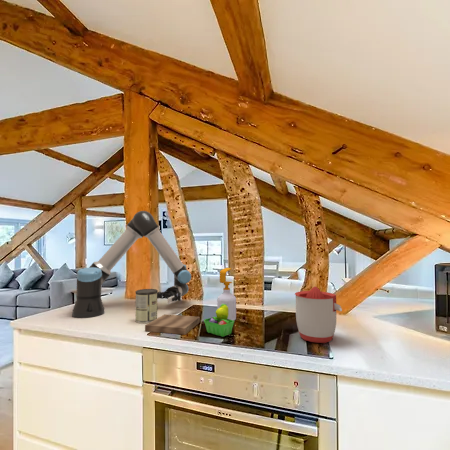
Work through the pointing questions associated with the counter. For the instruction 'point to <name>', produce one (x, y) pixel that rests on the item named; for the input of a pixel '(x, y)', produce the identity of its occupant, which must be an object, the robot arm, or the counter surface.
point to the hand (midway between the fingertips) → (156, 300)
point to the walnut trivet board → (172, 324)
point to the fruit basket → (220, 322)
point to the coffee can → (146, 305)
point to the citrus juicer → (316, 315)
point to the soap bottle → (227, 296)
